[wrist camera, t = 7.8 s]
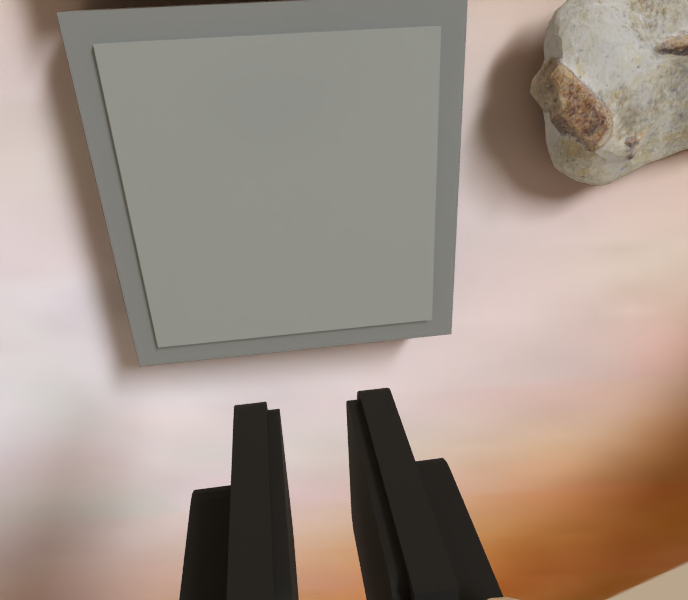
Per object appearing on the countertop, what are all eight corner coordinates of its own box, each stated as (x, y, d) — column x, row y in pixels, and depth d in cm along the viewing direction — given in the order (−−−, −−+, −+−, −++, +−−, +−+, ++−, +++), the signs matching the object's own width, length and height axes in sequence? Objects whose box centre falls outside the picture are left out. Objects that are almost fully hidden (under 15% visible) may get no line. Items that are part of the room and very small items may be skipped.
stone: (785, -132, 23) (864, -146, 20) (791, 91, 28) (856, 105, 25) (499, 10, 24) (536, 16, 21) (551, 205, 28) (588, 232, 26)
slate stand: (444, -8, 24) (470, -8, 21) (434, 304, 30) (452, 336, 28) (79, 9, 23) (54, 12, 20) (150, 332, 29) (138, 369, 26)
